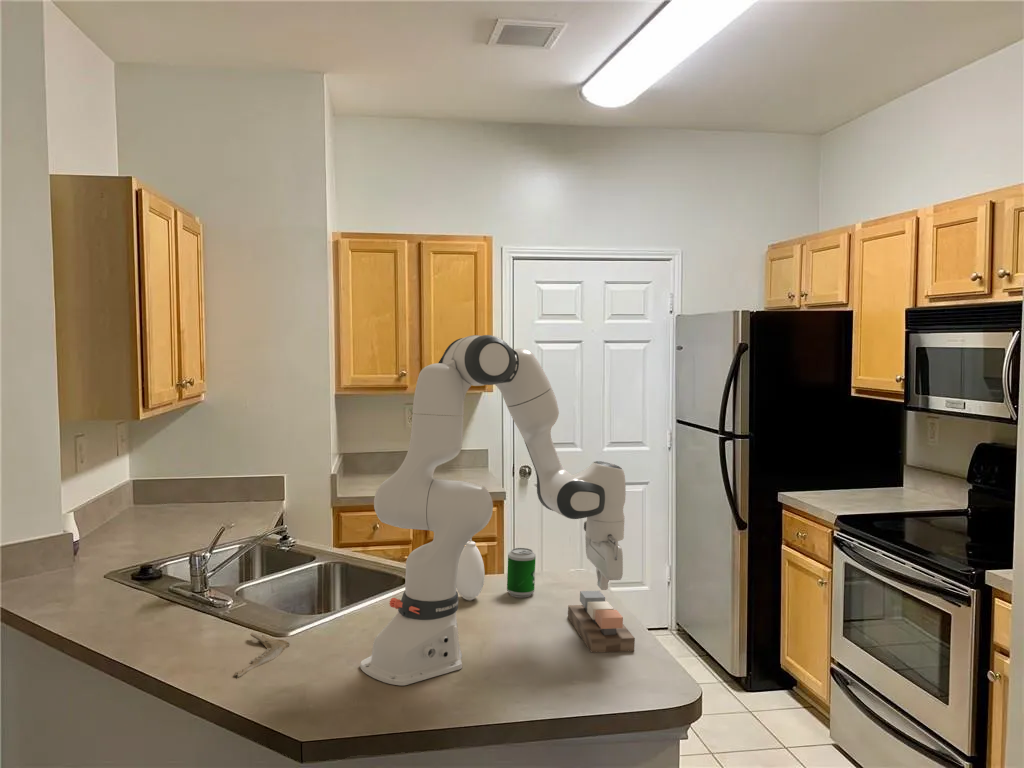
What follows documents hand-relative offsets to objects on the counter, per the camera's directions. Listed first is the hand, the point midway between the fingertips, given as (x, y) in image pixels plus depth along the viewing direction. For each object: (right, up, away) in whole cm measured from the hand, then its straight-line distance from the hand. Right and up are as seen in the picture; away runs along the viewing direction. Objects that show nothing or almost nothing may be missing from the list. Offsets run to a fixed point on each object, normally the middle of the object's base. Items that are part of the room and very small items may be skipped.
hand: (602, 588), depth 187 cm
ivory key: (-1, -10, +2) cm, 10 cm away
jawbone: (-78, -11, -18) cm, 81 cm away
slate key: (-2, -9, +9) cm, 13 cm away
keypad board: (-1, -11, +2) cm, 11 cm away
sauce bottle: (-33, -9, +22) cm, 41 cm away
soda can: (-19, -9, +28) cm, 35 cm away
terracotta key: (+1, -10, -5) cm, 11 cm away
